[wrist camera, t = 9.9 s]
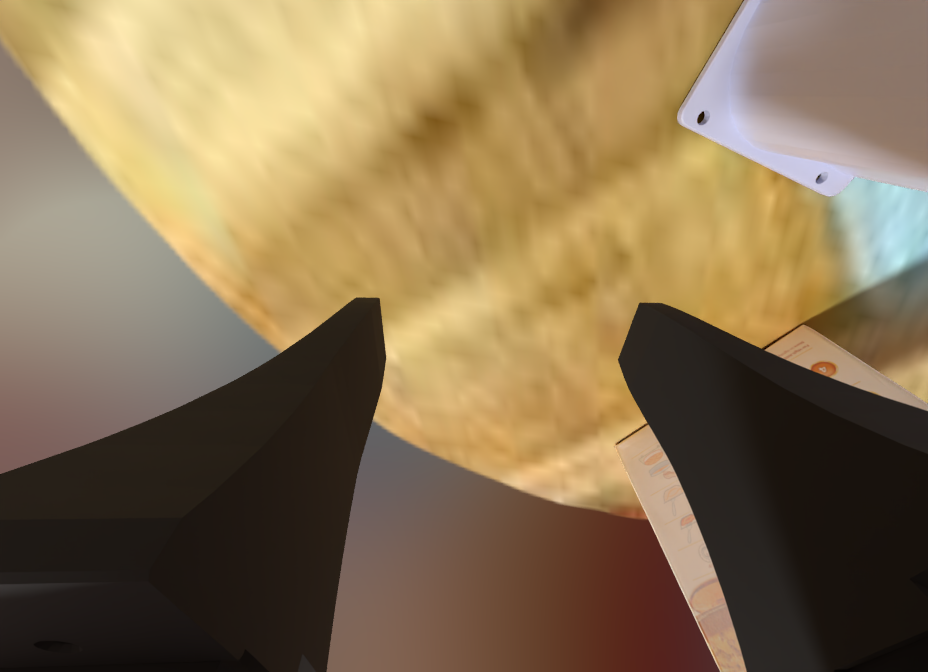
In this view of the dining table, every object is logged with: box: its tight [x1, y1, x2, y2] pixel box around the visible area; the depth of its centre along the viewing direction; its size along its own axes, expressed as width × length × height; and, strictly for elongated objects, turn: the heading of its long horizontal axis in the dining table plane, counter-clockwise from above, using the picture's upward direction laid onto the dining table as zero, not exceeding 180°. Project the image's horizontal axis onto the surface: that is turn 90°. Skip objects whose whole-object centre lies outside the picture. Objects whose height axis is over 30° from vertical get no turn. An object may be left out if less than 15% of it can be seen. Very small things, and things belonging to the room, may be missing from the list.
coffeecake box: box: [615, 325, 928, 672], centre depth 18 cm, size 15×7×20 cm, turn 142°
